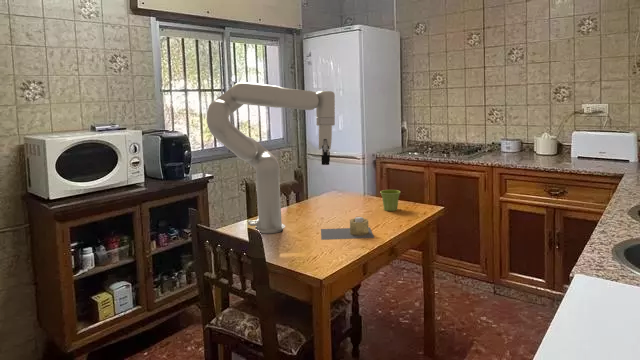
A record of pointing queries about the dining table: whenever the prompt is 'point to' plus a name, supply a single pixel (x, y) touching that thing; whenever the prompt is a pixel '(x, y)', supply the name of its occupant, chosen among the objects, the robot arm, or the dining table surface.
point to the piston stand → (344, 233)
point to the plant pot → (390, 199)
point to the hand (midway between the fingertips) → (325, 162)
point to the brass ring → (359, 227)
